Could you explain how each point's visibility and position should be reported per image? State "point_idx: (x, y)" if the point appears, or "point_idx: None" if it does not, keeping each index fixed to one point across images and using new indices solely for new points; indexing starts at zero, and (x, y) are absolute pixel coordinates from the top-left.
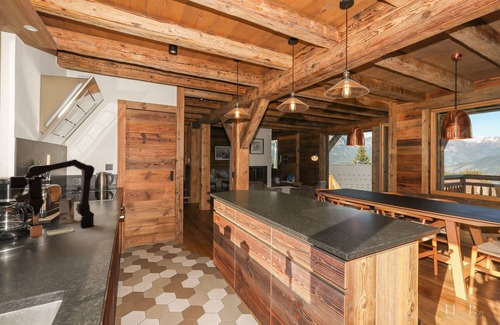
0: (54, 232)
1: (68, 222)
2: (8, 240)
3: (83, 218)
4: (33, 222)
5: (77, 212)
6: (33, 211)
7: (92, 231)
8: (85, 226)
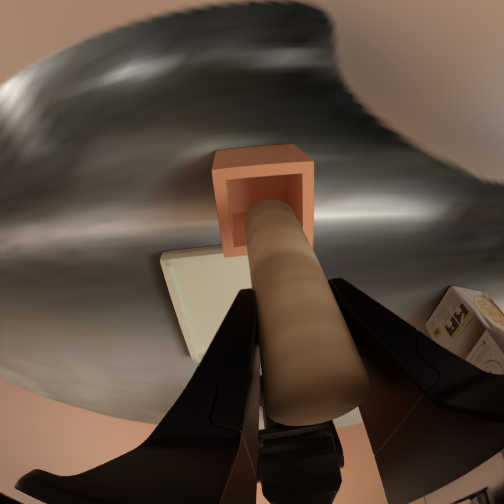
0: (245, 282)
1: (431, 322)
2: (246, 19)
3: (275, 423)
4: (257, 214)
5: (328, 436)
6: (278, 329)
7: (167, 394)
8: (263, 388)
